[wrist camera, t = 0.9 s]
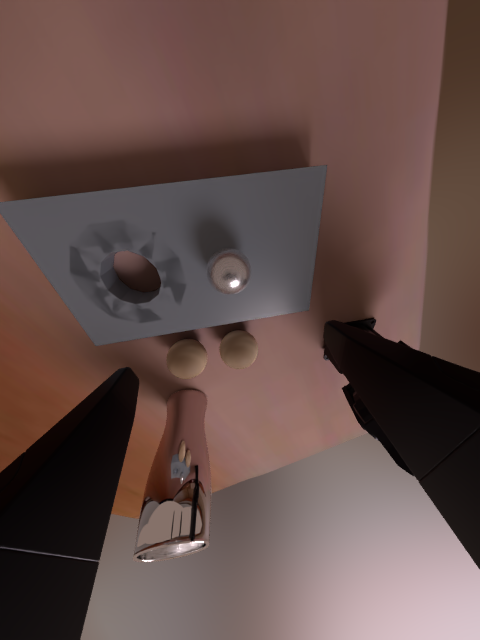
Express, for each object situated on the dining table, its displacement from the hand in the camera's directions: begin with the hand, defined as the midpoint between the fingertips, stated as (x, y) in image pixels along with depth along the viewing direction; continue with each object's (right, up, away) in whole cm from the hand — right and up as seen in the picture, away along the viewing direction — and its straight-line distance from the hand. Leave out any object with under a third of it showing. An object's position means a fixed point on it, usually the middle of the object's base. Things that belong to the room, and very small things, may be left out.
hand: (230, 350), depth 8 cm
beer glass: (-8, -11, +21) cm, 25 cm away
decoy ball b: (-6, -3, +13) cm, 14 cm away
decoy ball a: (0, -2, +13) cm, 13 cm away
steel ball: (0, +5, +6) cm, 8 cm away
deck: (-4, +7, +9) cm, 12 cm away
